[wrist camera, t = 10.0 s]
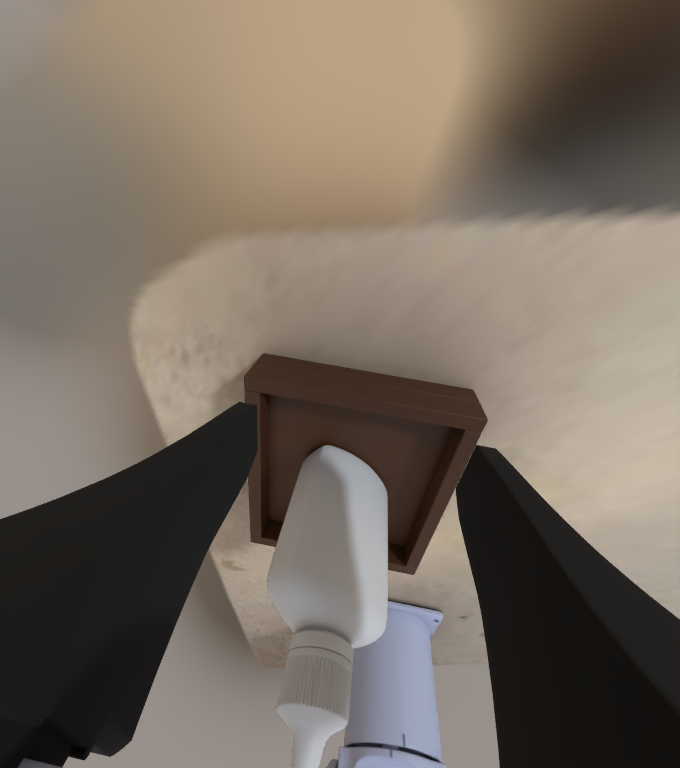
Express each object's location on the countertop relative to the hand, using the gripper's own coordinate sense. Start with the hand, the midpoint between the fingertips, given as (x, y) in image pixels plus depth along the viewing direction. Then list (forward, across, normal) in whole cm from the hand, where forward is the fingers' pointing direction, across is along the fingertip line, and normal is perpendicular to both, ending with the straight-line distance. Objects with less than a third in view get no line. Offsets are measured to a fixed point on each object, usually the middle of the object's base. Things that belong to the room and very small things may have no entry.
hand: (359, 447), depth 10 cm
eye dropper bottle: (+6, 0, +8) cm, 10 cm away
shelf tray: (+7, 0, +8) cm, 10 cm away
